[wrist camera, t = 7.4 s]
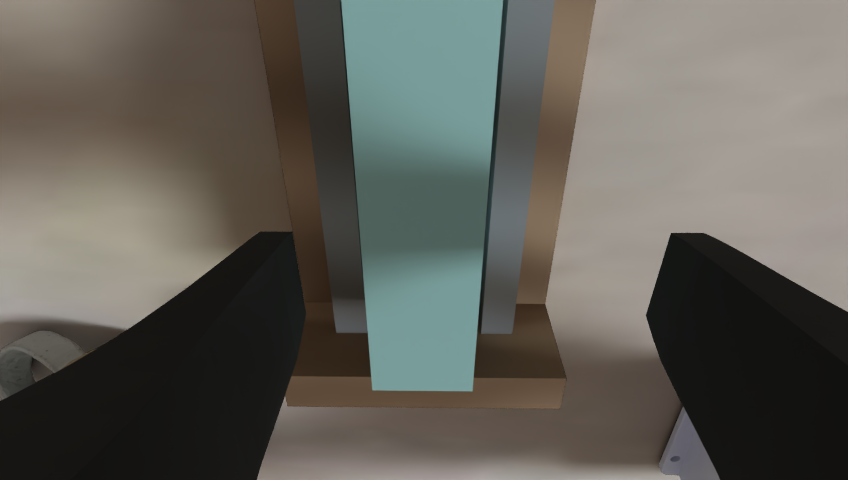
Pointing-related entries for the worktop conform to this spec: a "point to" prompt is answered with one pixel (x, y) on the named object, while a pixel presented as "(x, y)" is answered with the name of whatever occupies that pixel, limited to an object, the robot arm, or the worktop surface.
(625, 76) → the worktop surface
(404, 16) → the long teal rectangular block
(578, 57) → the track board
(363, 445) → the worktop surface
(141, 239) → the worktop surface
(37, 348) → the ceramic mug
